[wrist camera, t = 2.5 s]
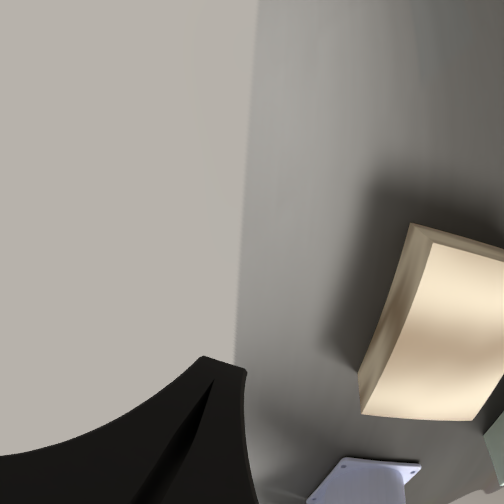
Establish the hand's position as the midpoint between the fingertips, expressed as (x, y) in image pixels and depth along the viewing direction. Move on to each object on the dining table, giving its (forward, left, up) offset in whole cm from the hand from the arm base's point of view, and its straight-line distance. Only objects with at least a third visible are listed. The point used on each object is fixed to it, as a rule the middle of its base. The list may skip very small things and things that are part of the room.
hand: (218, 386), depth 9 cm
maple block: (0, -11, -10) cm, 15 cm away
